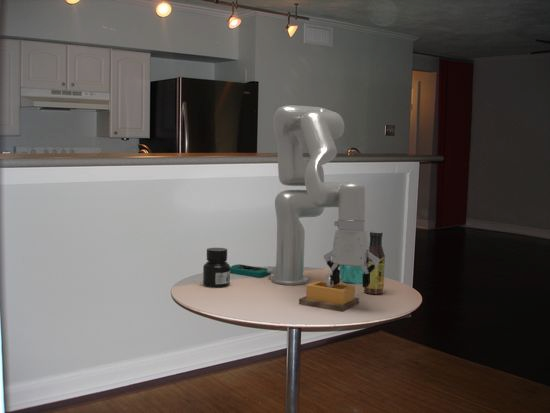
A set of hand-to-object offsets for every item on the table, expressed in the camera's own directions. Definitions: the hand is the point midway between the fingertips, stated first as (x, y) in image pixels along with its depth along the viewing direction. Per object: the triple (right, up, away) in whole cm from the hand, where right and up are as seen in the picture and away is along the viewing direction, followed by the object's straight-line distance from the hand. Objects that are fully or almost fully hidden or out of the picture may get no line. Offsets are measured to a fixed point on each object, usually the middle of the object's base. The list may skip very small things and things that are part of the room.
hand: (350, 285), depth 175 cm
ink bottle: (-42, -3, +25) cm, 49 cm away
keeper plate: (-6, -6, +5) cm, 10 cm away
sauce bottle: (+10, -5, +20) cm, 23 cm away
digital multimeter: (-31, -2, +44) cm, 54 cm away
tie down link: (-6, -5, +4) cm, 8 cm away
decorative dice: (+6, -4, +36) cm, 37 cm away
